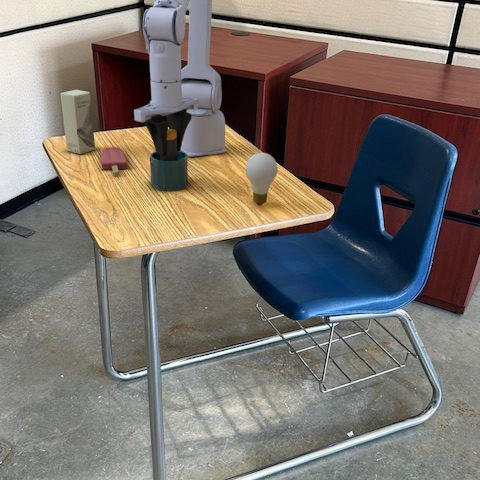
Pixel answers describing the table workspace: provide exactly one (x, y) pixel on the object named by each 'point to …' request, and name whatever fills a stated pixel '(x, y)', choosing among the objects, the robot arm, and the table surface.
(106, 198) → the table surface
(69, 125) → the box
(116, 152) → the popsicle
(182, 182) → the tumbler
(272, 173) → the light bulb
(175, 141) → the glue stick
